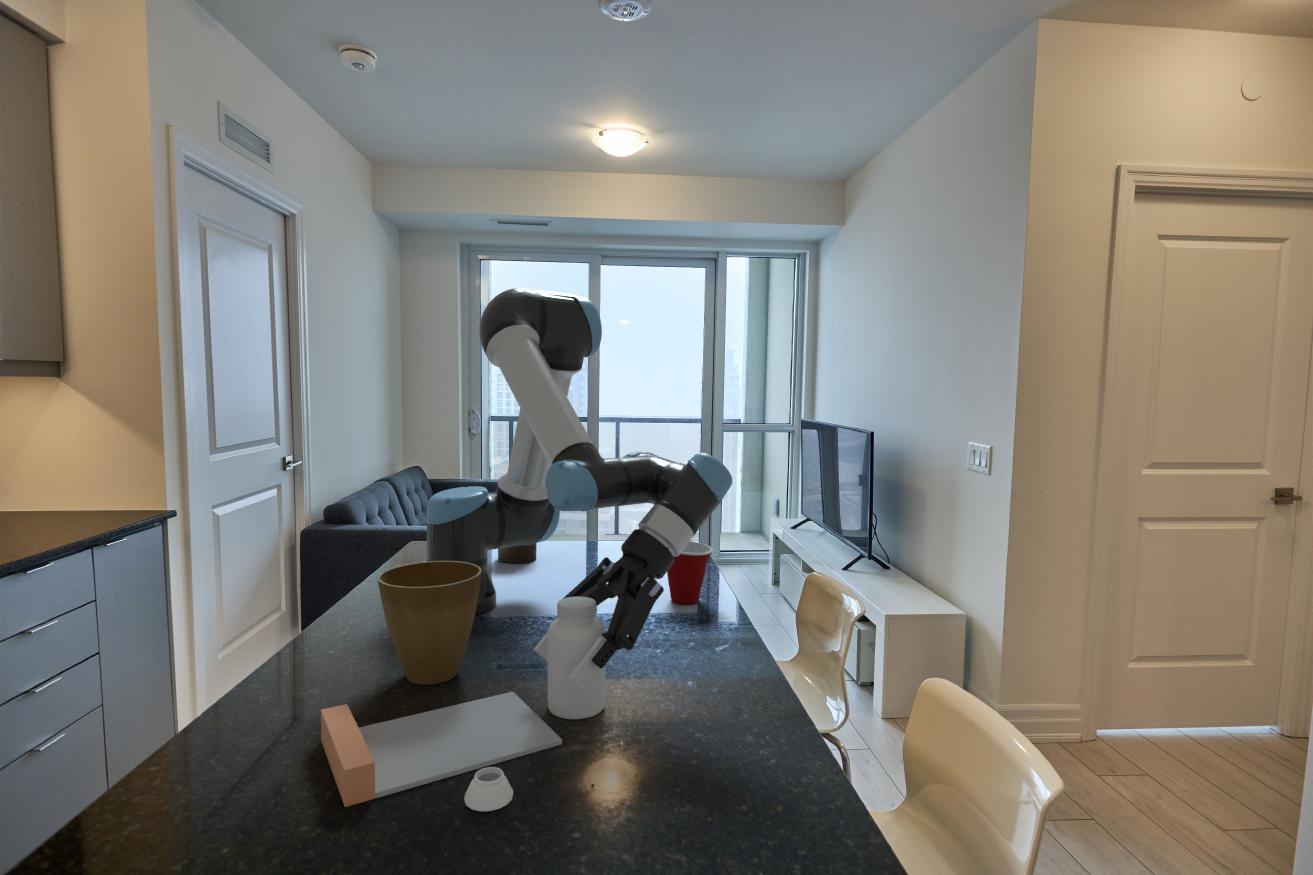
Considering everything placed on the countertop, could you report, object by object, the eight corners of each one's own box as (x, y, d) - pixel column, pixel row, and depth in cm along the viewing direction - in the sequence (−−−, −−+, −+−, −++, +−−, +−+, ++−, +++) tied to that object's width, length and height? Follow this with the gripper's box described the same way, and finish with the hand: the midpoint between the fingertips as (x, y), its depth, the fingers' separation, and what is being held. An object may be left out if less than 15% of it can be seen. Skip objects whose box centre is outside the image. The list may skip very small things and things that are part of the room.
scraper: (321, 740, 86) (320, 709, 86) (512, 695, 100) (513, 668, 100) (344, 806, 73) (344, 770, 73) (562, 744, 87) (562, 712, 86)
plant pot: (451, 649, 117) (451, 555, 116) (499, 676, 106) (500, 573, 105) (361, 673, 106) (361, 570, 105) (405, 706, 96) (404, 592, 95)
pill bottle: (548, 695, 100) (549, 593, 99) (604, 694, 101) (606, 592, 100) (544, 721, 92) (545, 610, 91) (605, 720, 93) (607, 610, 92)
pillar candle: (532, 564, 174) (533, 504, 173) (493, 563, 174) (494, 503, 173) (539, 555, 183) (540, 498, 182) (502, 554, 183) (503, 497, 183)
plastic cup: (708, 611, 140) (709, 552, 139) (655, 606, 142) (656, 548, 141) (714, 595, 151) (716, 540, 150) (665, 591, 153) (666, 537, 152)
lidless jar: (460, 815, 72) (509, 814, 73) (460, 788, 72) (509, 786, 72) (469, 788, 77) (515, 787, 78) (469, 762, 77) (515, 761, 77)
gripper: (718, 577, 94) (616, 717, 87) (630, 543, 113) (540, 656, 106) (688, 542, 91) (579, 685, 83) (602, 514, 110) (507, 628, 103)
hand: (557, 669), depth 95 cm, fingers open, 10 cm apart
